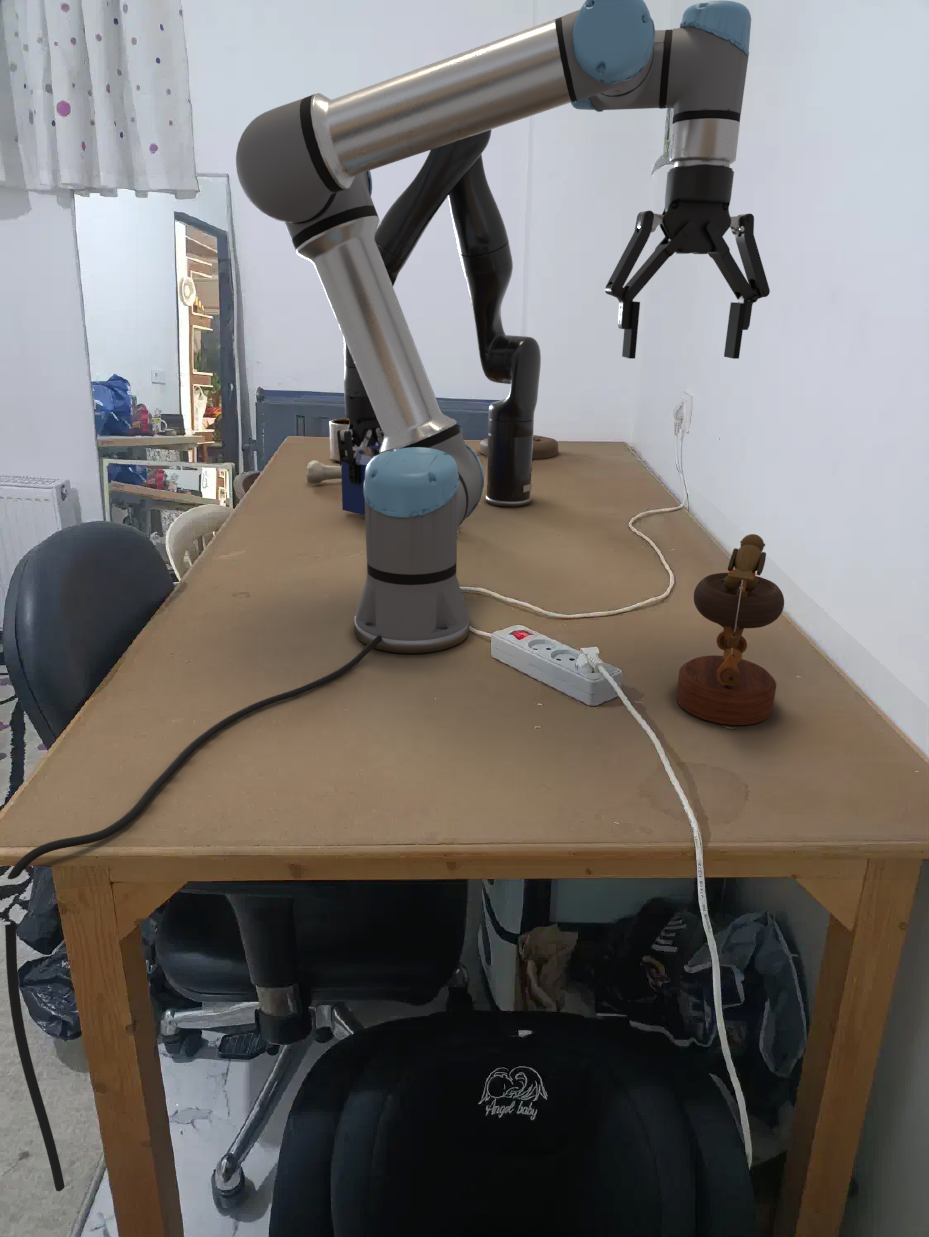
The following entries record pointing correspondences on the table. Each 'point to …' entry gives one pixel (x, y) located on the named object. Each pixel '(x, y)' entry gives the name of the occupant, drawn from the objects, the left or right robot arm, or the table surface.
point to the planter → (334, 427)
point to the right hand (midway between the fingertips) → (367, 479)
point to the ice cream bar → (541, 447)
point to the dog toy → (322, 472)
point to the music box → (733, 642)
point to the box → (354, 488)
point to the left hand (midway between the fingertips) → (680, 358)
